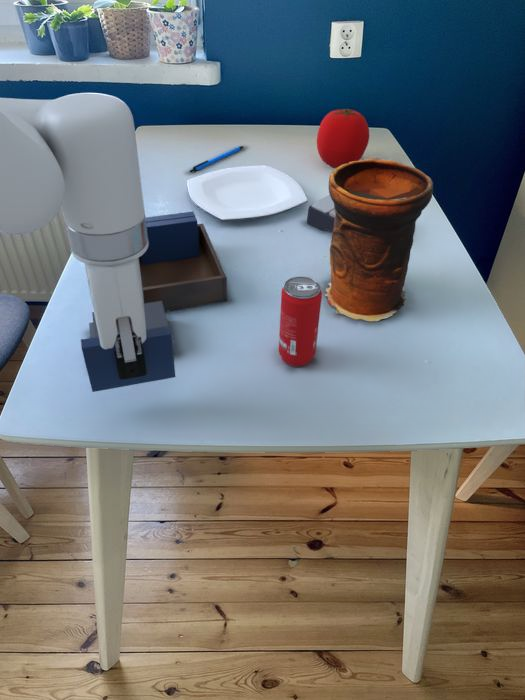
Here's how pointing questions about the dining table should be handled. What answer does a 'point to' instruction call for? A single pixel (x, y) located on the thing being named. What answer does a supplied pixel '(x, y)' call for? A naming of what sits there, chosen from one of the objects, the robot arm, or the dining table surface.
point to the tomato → (342, 137)
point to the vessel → (373, 235)
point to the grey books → (152, 319)
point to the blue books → (171, 238)
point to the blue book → (105, 366)
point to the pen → (215, 159)
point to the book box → (186, 279)
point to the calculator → (322, 214)
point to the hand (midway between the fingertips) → (132, 368)
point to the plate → (245, 192)
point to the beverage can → (299, 320)
